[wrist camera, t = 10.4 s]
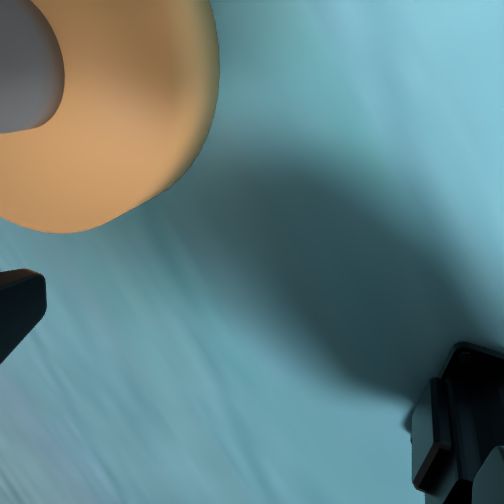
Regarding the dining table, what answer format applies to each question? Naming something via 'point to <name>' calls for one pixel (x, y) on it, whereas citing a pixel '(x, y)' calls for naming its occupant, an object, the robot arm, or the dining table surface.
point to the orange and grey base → (100, 105)
